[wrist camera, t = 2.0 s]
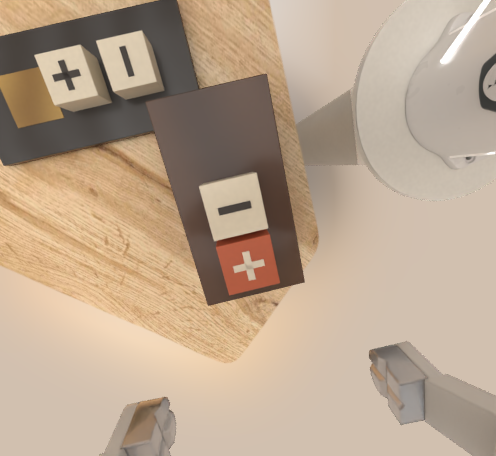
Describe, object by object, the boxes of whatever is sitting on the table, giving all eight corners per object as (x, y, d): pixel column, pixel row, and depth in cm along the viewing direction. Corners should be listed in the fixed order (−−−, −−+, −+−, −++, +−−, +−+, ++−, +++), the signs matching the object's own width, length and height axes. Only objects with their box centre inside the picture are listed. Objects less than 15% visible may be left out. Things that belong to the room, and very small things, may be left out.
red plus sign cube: (264, 225, 22) (269, 234, 19) (274, 268, 23) (280, 283, 20) (217, 236, 22) (215, 247, 19) (229, 279, 23) (229, 296, 20)
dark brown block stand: (254, 104, 29) (266, 73, 19) (283, 249, 34) (305, 282, 24) (173, 123, 29) (144, 101, 19) (214, 266, 34) (207, 306, 24)
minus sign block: (151, 45, 26) (141, 29, 23) (164, 90, 27) (156, 81, 24) (110, 54, 26) (95, 40, 23) (125, 100, 27) (112, 91, 24)
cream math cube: (97, 57, 26) (79, 43, 23) (112, 103, 27) (97, 95, 24) (55, 67, 26) (33, 54, 23) (73, 112, 27) (53, 105, 24)
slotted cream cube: (253, 171, 21) (256, 172, 18) (263, 220, 22) (268, 228, 19) (202, 183, 21) (198, 186, 18) (216, 231, 22) (214, 241, 19)
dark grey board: (177, 2, 26) (175, -5, 25) (207, 120, 29) (206, 118, 28) (-43, 52, 25) (-55, 47, 24) (11, 166, 29) (2, 165, 28)
